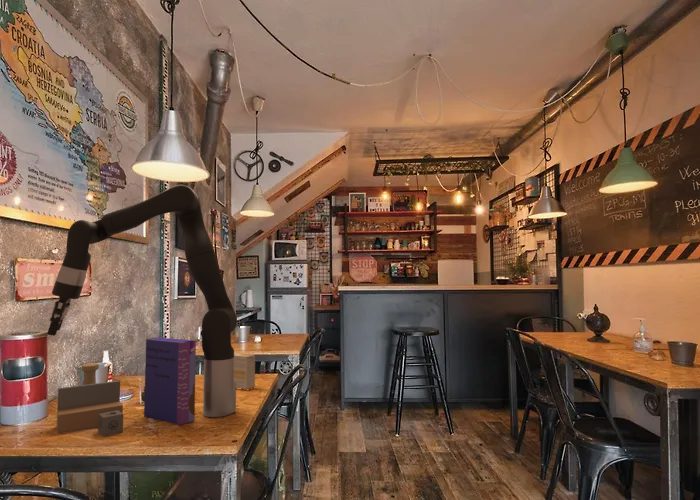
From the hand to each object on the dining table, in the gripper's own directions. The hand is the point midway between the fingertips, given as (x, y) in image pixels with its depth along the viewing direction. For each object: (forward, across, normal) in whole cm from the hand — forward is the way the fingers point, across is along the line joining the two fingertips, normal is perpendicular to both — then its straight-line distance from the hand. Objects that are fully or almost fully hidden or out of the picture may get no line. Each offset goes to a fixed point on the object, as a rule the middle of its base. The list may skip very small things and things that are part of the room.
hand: (53, 332), depth 134 cm
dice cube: (+20, -24, -22) cm, 39 cm away
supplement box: (+11, +7, -66) cm, 68 cm away
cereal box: (+16, -20, -38) cm, 45 cm away
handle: (+23, +1, -16) cm, 28 cm away
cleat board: (+22, -14, -17) cm, 31 cm away
